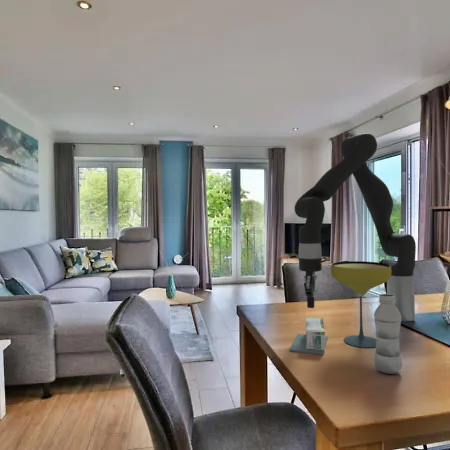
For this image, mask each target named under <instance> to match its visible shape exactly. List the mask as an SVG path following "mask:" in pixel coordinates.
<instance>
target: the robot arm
mask: <svg viewBox="0 0 450 450" xmlns="http://www.w3.org/2000/svg"><path fill="white" fill-rule="evenodd" d="M377 148H378V142H377V139H376V137H375V136H374V135H373V134H371V133H367V132H366V133H365V132H364V133H359V134H357V135H352V136H348V137H346V138H345V139H343V141H342V142H341V147H340V150H341V155H342V157H343V159H342V160H341V161H339V162H338V163H336V164H335V165H333V166H332V167H331V168H330V169H328V170H327V171H326V172H325V173H324V174H323V175H322V176H321V177H320V178H319V180H318V181H317V182H315V184H314V186H312V187H311V188H310V189H308V190H307V191H306V192H304V193H303V194H302V195H301V196H299V198H298V199H297V200H296V202H295V205H294V212H295V215H296V216H298V217H299V218H301V219H305V224H303V225H302V226H300V227H299V229H298V237H299V238H298V242H299V243H298V245H299V246H298V269H299V271H300V272H305V275H304V276H303V282H304V283H303V287H304V293H305V297H306V303H307V304H306V307H307V308H308V309H314V307H315V297H316V292H317V281H318V276H317V275H316V273H317V272H321V271H322V269H323V263H322V262H323V260H322V259H323V258H322V254H323V253H322V251H323V250H322V244H321V240H322V239H321V229H322V226H323V223H324V218H325V217H324V216H325V213H326V207H325V204H324V202H326V201H329V200H330V199H331V198H333V196H334V195H335V193H336V192H337V191H338V190H339V189H340V188H341V186H342V185H343V184H344V183H345V182H346V181H347V180H348V178H350V177H351V176H352V175H353V177H354V180H355V182H356V183H357V186H358V188H359V190H360V192H361V195H362V199H363V200H364V202H365V205H366V208H367V210H368V212H369V213H370V214H369V215H370V217H371V219H372V222H373V224H374V226H375V230H376V233H377V236H378V240H379V243H380V246H381V249H382V251H383V253H384V254H385V255H386V256H389V257H393V258H397V261H396V263H395V264H393V265H392V264H391V265H390V266H391V277H390V279H389V280H388V281H386V294H391V295H394V296H395V304H394V305H395V306H396V308H397V309H398V310H399V312H400V314H401V322H415V321H416V316H415V313H416V311H415V310H416V309H415V305H416V304H415V303H416V302H415V295H414V270H415V267H416V253H417V252H416V251H417V249H416V248H417V245H416V244H417V243H416V241H415V238H414V236H413V235H411V234H409V233H396V232H395V231H394V229H393V226H392V224H391V216H392V212H393V210H394V200H393V197H392V194H391V192H390V190H389V187H388V186H387V185H386V184H387V183H385V182H384V181H383V180H382V179H381V178H380V177H378V176H377V175H376V174H375V173H374V172H373V171H372V170H371V168H370V167H369V166H368V164H367V163H366V162H368V161H369V160H370V159H371V158H373V156H374V155H375V154H376V152H377Z"/></svg>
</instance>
